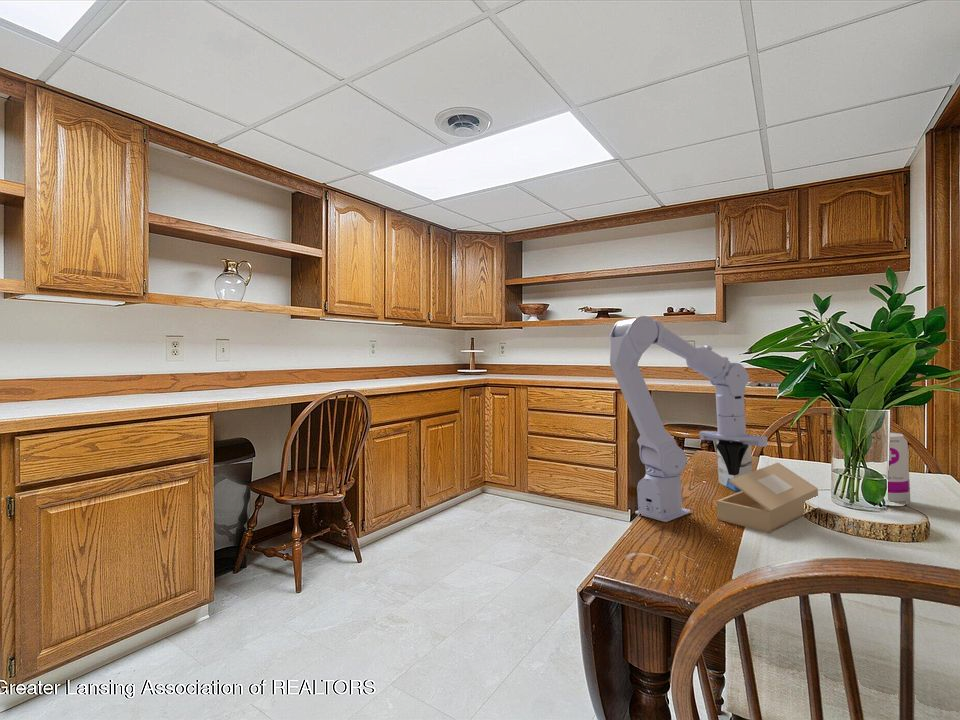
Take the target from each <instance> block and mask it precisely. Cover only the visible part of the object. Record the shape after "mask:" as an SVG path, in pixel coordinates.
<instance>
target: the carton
mask: <svg viewBox="0 0 960 720" xmlns="http://www.w3.org/2000/svg"><path fill="white" fill-rule="evenodd" d="M816 496H818V497H819V490H818V489H817V490H815V491H813V492H811V493H809V494H807V495H805V496H803V497H801V498H798V499H796V500H794V501H792V502H790V503H788V504H786V505H784V506H781V507H779V508H777V509H775V510H773V511H771V512H770V511H768V510H767V509H766V508H764V507H763V506H762V505H760V504H759V503H758V502H756V501H755V500H754V499H752V498H751V497H750V496H748V495H747V494H745V493H744V492H743V491H736V492H735V493H733V494H730V495H728V496H726V497H722V498H720V499H717V500H716V511H717V512H716V513H717V515H716V516H717V521H721V522H722V521H723V522H726V523H731V524H733V525H737V526H742V527H745V528H749V529H752V530H753V529H754V530H756V531H757V530H758V531H761V532H765V533H769V534H771V533H773V532H775V531H777V530H778V529H781V528H782V527H784V526H786V525H788V524H790V523H792V522H794V521H796V520H798V519H800V518H803V511H804V503H805V501H806V500H809V499H811V498H813V497H816Z"/></svg>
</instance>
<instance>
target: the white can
mask: <svg viewBox="0 0 960 720" xmlns="http://www.w3.org/2000/svg"><path fill="white" fill-rule="evenodd" d="M889 432H890V456H889V481H888V500H889V501H890V502H895V503H899V504H907V505H908V504H910V503H911V487H910V484H911V483H910V465H909V447H908V445H909V444H908V440H907V439H906V438H905V436H904V435H903V434H902V433H897V432H891V431H889Z"/></svg>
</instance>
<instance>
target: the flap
mask: <svg viewBox="0 0 960 720" xmlns="http://www.w3.org/2000/svg"><path fill="white" fill-rule="evenodd" d="M729 482H731V483H732V484H733V485H735V486H736V487H737V488H739V489H740V490H741V491H743V492H744V493H745V494H747V495H748V496H750V497H751V498H752V499H754V500H755V501H756V502H758V503H759V504H760V505H762V506H763V507H764V508H766V509H767V510H768V511H770V512H771V511H773V510H775V509H777V508H779V507H781V506H784V505H786V504H788V503H790V502H792V501H794V500H796V499H798V498H801V497H803V496H805V495H807V494H809V493H811V492H813V491H815V490H817V489H818V487H817V486H815V485H814V484H812V483H810V482H809V481H808V480H807V479H804V478H803V477H802V476H800V475H798V474H797V473H795V472H793V471H792V470H791V469H789V468H788V467H786V466H785V465H783V464H782V463H781V462H776V463H773V464H769V465H768V466H764V467H762V468H759V469H756V470H754V471H753V470H752V472H750V473H747V474H744V475H742V476H739V477H736V478H733V479H730V480H729Z"/></svg>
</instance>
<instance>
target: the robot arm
mask: <svg viewBox="0 0 960 720" xmlns="http://www.w3.org/2000/svg"><path fill="white" fill-rule="evenodd" d="M608 337H609V339H610V353H609V354H610V357H609V364H610V367H611V369H612V372H613V374H614V377H615V379H616V381H617V384H618V386H619V388H620V391H621V394H622V395H623V398H624V400H625V403H626V404H627V407H628V410H629V413H630V415H631V417H632V419H633V421H634V424H635V426H636V428H637V431H638V433H639V437H638V438H637V444H638V447H639V452H638V453H639V459H640V462H641V463H642V464H644V469H645V475H644V476H643V478H641V479H640V480H639V481H638V483H637V486H636V494H637V510H635V511H634V513H635V514H636V515H639V516H643V517H646V518H649V519H652V520H657V521H659V522H660V521H661V522H662V523H663V522H664V523H668V522H670V521H672V520H676V519H678V518H680V517H683V516H685V515H689V514H691V512H692V510H691V509H689V508H685V507H684V508H683V499H682V497H683V496H682V477H681V476H682V472H683V471H684V470H685V468H686V466H687V455H686V453H685V451H684V450H683V449H682V448H681V447H680V446H679V445H678V444H677V441H676V440H675V438H674V437H673V436H672V435H671V434H670V433H669V432H668V431H667V429H666V428H665V427H664V424H663V421H662V419H661V417H660V415H659V412H658V409H657V407H656V406H655V403H654V400H653V398H652V395H651V393H650V390H649V388H648V386H647V384H646V381H645V379H644V377H643V375H642V371H641V369H640V367H639V362H640V359H641V358H642V356H643V354H644V353H645V352H646V351H647V350H648V349H649V348H650V347H651V345H657V346H658V347H659V346H660V348H663V349H665V350H667V351H669V352H671V353H672V354H674V355H677V356H679V357H680V358H682V359H684V360H685V361H686V365H687V367H688V368H689V369H691V370H693V372H694V371H695V372H696V373H698V374H700V375H701V376H703V377H705V378H707V379H708V380H709V382H710V384H711V385H712V386H715V387H714V388H715V405H716V407H715V408H716V421H717V423H716V424H717V425H716V426H717V431H713V430H701V431H699V440H700V441H714V442H717V441H719V443H718V444H717V443H716V444H715V448H716V450H717V449H718V451H719V452H720V454H721V455H722V457H723V459H724V462H725V464H726V467H727V470H728V474H729V475H734V476H735V475H738V474H739V470H740V465H741V462H742V459H743V456H744V454H745V452H746V450H747V449H748V447H749V445H751V446H758V448H759V447H761V448H764V447H767V446H768V445H769V443H768V437H767V436H761V435H756V434H750V433H747V431H746V428H747V427H746V411H745V393H746V387H747V384H748V383H749V381H750V374H749V373H748V372H747V369H746V368H745V366H744V365H742V364H741V363H737V362H731V361H730V360H729V357H727V356H722V355H720V354H718V353H716V352H715V351H713V347H712V346H710V345H702V344H701V345H697V346H694V345H693V344H691V343H690V342H688V341H686V340H685V339H683V338H682V337H680V336H679V335H677V334H676V333H674V332H673V331H671V330H670V329H668V328H667V327H666V326H665V325H664V324H663V323H661V322H660V321H658V320H655V319H654V318H652V317H650V316H647V315H640V316H638V317H633V318H629V319H628V318H626V319H625V318H624V319H620V320H618V321H616V323H615V324H614V325H613V328H612V329H611V331H610V334H609V336H608ZM736 440H739V441H736ZM646 507H647V508H646ZM645 508H646V509H645ZM644 510H645V511H644ZM643 511H644V512H643ZM642 512H643V513H642ZM641 513H642V514H641ZM640 514H641V515H640Z"/></svg>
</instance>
